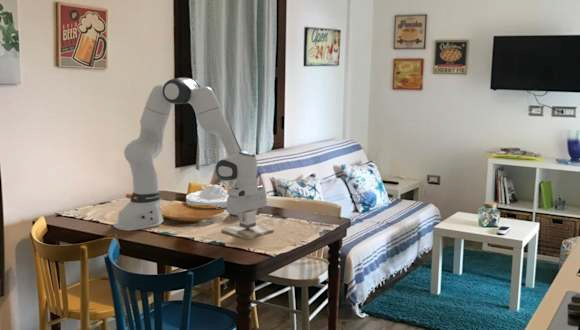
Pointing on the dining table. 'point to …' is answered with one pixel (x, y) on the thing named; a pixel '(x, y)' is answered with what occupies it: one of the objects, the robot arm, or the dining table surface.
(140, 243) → the dining table surface
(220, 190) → the cake
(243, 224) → the sleeve
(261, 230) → the pin board
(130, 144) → the robot arm
